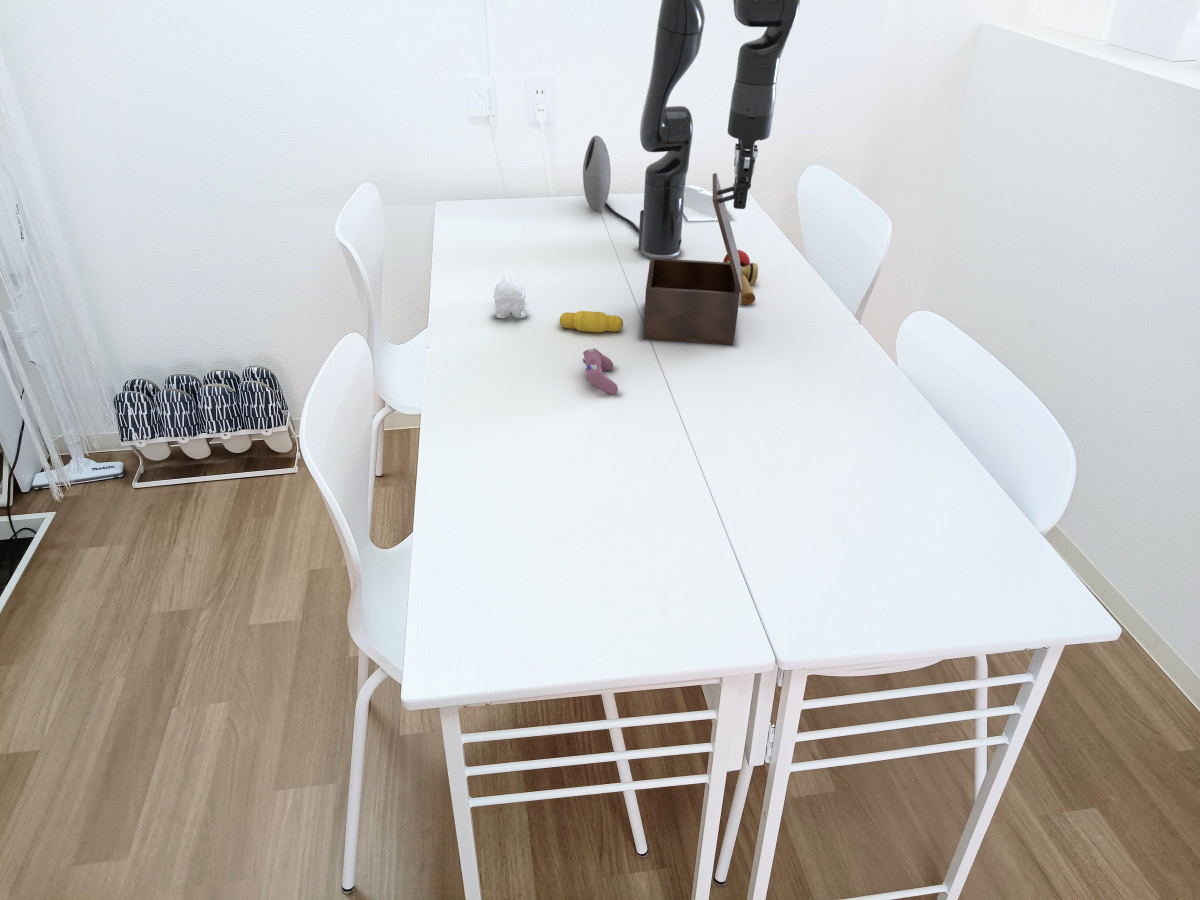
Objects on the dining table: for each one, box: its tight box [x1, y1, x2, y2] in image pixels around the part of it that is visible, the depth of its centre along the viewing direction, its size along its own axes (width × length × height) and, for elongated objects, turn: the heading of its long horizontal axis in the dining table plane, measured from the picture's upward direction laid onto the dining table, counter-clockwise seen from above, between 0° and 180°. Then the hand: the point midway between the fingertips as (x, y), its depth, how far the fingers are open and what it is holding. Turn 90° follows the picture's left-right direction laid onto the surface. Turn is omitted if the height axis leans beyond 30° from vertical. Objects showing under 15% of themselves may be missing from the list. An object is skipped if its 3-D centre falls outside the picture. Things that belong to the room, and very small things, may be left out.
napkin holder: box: [683, 184, 731, 222], centre depth 229 cm, size 15×11×6 cm
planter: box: [582, 135, 612, 213], centre depth 224 cm, size 18×7×19 cm, turn 3°
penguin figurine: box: [493, 276, 527, 319], centre depth 178 cm, size 6×8×12 cm
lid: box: [712, 172, 742, 293], centre depth 164 cm, size 19×15×5 cm
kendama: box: [722, 249, 759, 306], centre depth 191 cm, size 8×6×18 cm
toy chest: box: [642, 258, 741, 346], centre depth 174 cm, size 18×15×11 cm
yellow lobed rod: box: [559, 310, 624, 333], centre depth 173 cm, size 13×4×4 cm, turn 84°
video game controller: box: [582, 347, 619, 395], centre depth 156 cm, size 10×5×7 cm, turn 5°
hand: (738, 201), depth 161 cm, fingers closed on lid, 5 cm apart
